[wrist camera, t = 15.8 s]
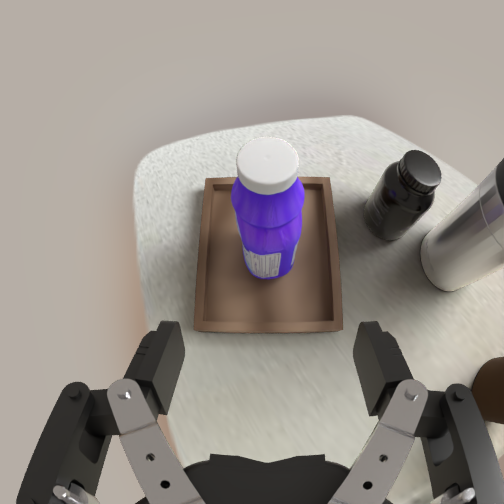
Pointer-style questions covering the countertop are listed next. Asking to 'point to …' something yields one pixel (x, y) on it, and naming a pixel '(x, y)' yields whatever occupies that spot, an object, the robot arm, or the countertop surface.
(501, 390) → the olive oil
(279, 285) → the walnut tray
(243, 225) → the bottle
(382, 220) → the supplement bottle
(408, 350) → the countertop surface
